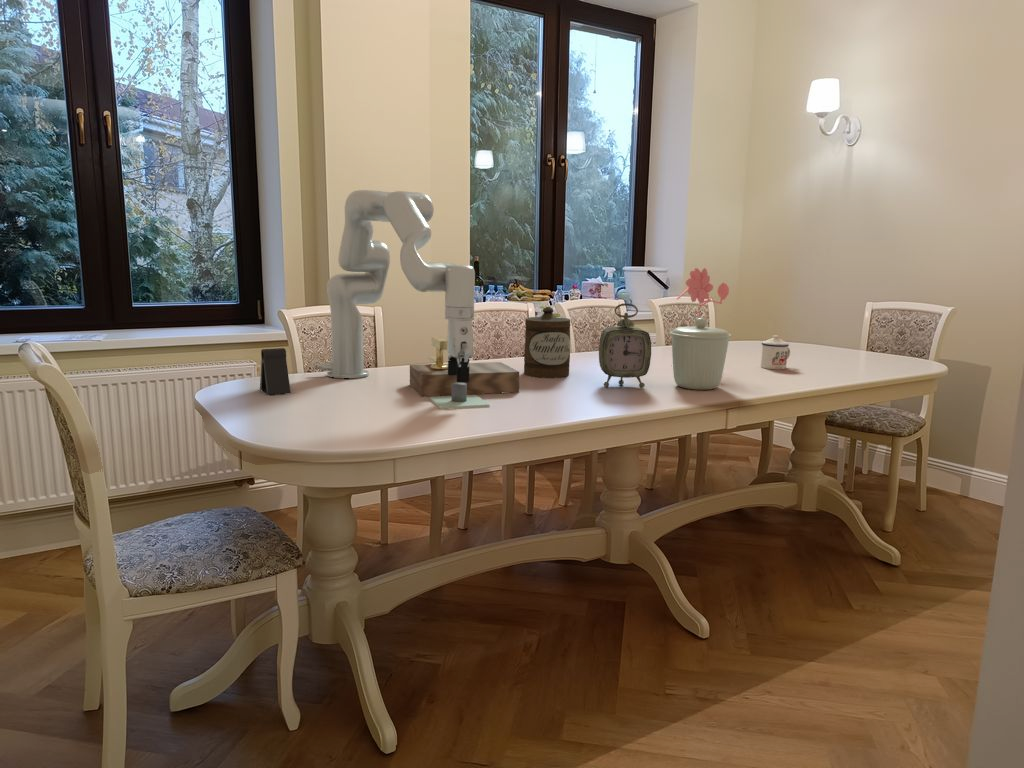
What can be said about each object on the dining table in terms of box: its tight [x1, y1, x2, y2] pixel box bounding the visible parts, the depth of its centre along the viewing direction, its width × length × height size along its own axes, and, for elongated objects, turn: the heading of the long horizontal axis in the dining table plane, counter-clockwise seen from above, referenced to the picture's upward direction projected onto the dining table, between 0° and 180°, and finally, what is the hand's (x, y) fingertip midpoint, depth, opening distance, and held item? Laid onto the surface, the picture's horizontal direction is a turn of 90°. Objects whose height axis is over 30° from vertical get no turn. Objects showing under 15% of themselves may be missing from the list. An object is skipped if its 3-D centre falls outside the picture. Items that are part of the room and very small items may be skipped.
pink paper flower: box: [676, 267, 730, 327], centre depth 262 cm, size 15×26×35 cm, turn 28°
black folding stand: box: [259, 347, 291, 396], centre depth 204 cm, size 9×6×12 cm, turn 32°
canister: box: [669, 317, 732, 391], centre depth 224 cm, size 18×18×21 cm
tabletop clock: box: [598, 303, 652, 389], centre depth 223 cm, size 14×9×25 cm, turn 92°
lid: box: [429, 383, 491, 410], centre depth 196 cm, size 13×13×6 cm
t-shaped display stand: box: [427, 336, 448, 370], centre depth 214 cm, size 15×5×8 cm, turn 20°
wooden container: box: [523, 306, 571, 379], centre depth 242 cm, size 15×15×22 cm
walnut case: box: [409, 361, 520, 398], centre depth 215 cm, size 28×18×6 cm, turn 108°
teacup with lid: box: [760, 334, 791, 371], centre depth 266 cm, size 12×9×12 cm
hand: (458, 378), depth 195 cm, fingers open, 9 cm apart
